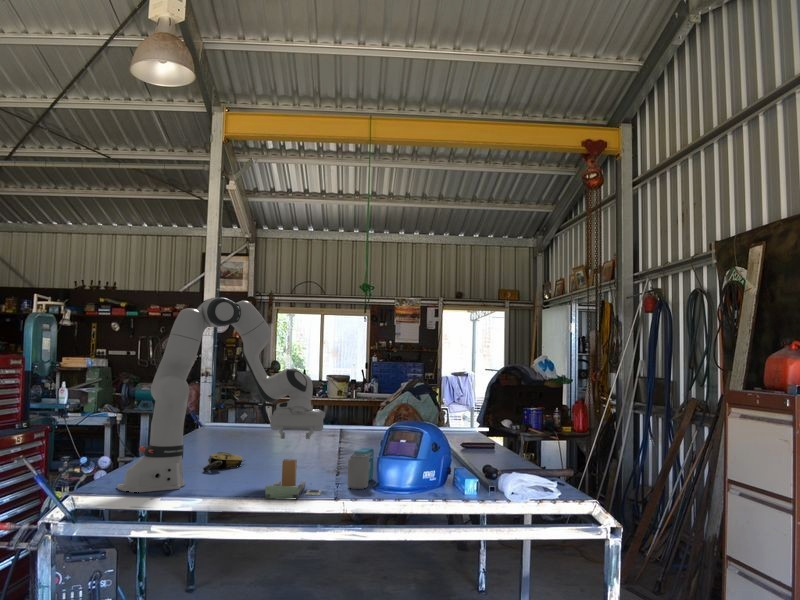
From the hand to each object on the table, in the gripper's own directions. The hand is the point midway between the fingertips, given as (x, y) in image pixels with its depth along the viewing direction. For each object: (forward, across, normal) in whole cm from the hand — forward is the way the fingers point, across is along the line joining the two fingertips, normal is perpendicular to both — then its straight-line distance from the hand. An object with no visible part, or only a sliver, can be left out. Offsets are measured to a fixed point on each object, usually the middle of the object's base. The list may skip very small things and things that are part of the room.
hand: (295, 437), depth 250 cm
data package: (+7, -26, -17) cm, 32 cm away
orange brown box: (+20, 0, -3) cm, 21 cm away
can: (+18, -24, -6) cm, 31 cm away
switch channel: (+24, -3, +1) cm, 25 cm away
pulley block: (-10, +34, -33) cm, 49 cm away
